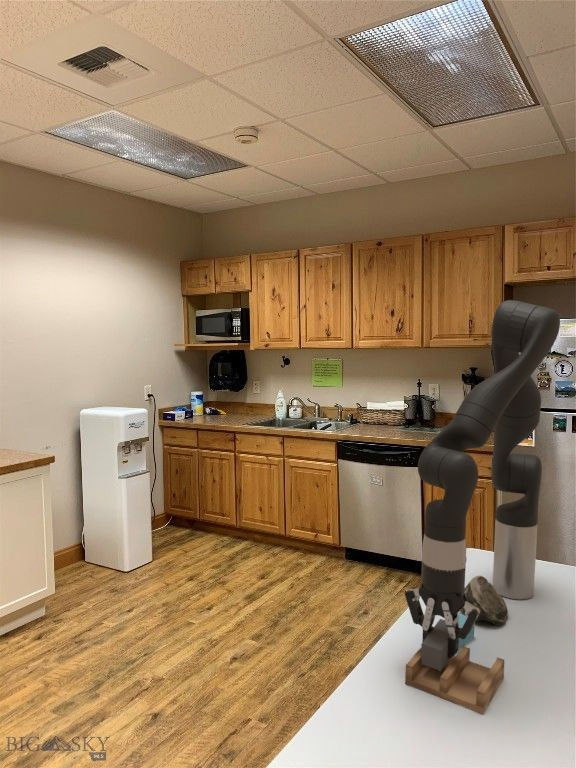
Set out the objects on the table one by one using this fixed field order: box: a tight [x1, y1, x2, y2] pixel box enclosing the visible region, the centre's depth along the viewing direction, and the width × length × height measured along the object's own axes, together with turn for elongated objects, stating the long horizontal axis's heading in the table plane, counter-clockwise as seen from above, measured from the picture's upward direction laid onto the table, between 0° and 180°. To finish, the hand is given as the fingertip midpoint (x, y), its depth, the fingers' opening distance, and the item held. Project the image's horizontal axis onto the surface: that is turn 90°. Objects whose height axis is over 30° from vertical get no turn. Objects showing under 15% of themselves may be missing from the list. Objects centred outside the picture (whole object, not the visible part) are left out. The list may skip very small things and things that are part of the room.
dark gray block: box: [420, 618, 459, 671], centre depth 105 cm, size 9×4×4 cm, turn 144°
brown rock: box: [461, 575, 509, 626], centre depth 126 cm, size 11×9×10 cm
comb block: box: [404, 645, 505, 715], centre depth 103 cm, size 12×14×4 cm
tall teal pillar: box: [458, 612, 476, 650], centre depth 116 cm, size 9×4×4 cm, turn 135°
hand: (440, 651), depth 105 cm, fingers closed on dark gray block, 3 cm apart
